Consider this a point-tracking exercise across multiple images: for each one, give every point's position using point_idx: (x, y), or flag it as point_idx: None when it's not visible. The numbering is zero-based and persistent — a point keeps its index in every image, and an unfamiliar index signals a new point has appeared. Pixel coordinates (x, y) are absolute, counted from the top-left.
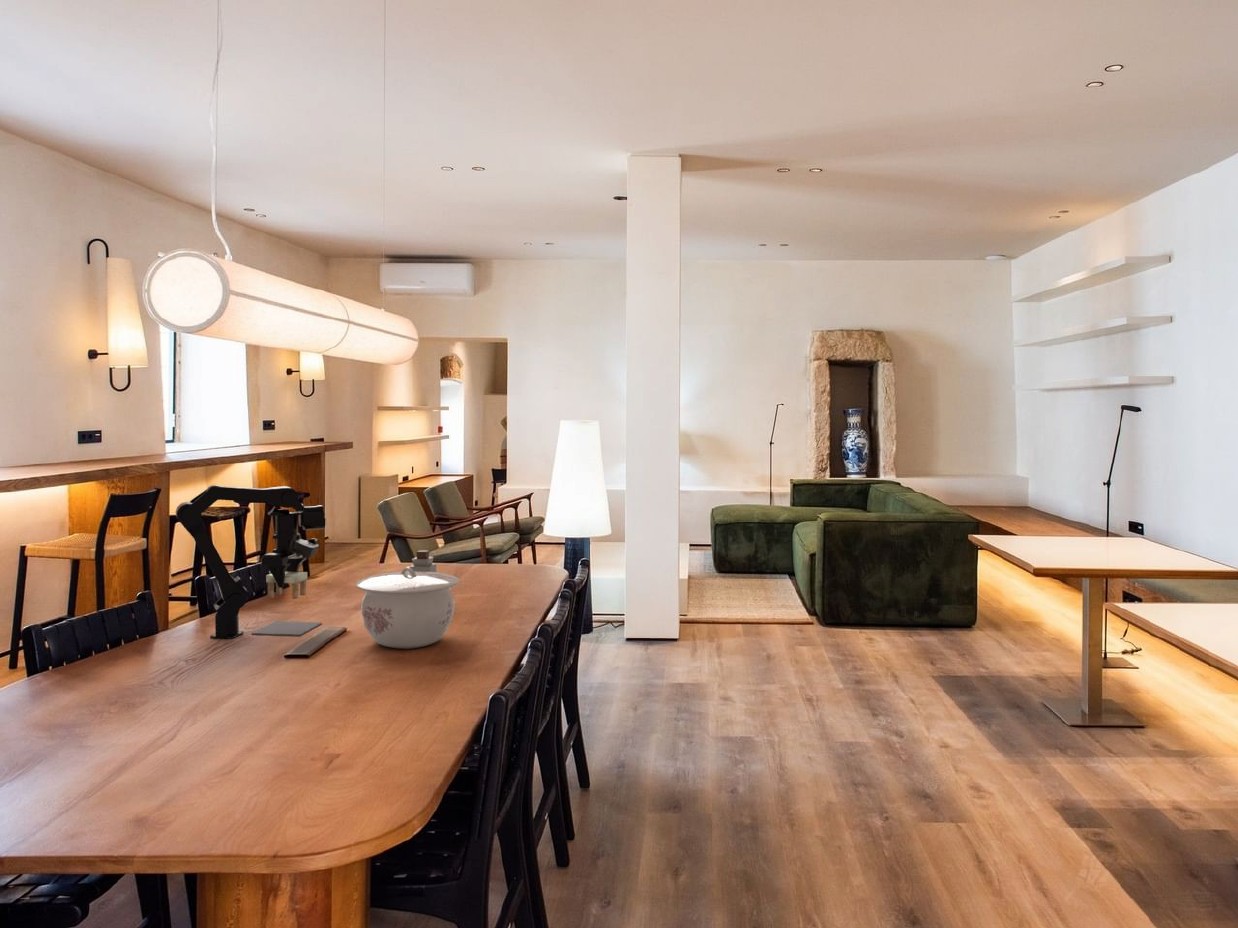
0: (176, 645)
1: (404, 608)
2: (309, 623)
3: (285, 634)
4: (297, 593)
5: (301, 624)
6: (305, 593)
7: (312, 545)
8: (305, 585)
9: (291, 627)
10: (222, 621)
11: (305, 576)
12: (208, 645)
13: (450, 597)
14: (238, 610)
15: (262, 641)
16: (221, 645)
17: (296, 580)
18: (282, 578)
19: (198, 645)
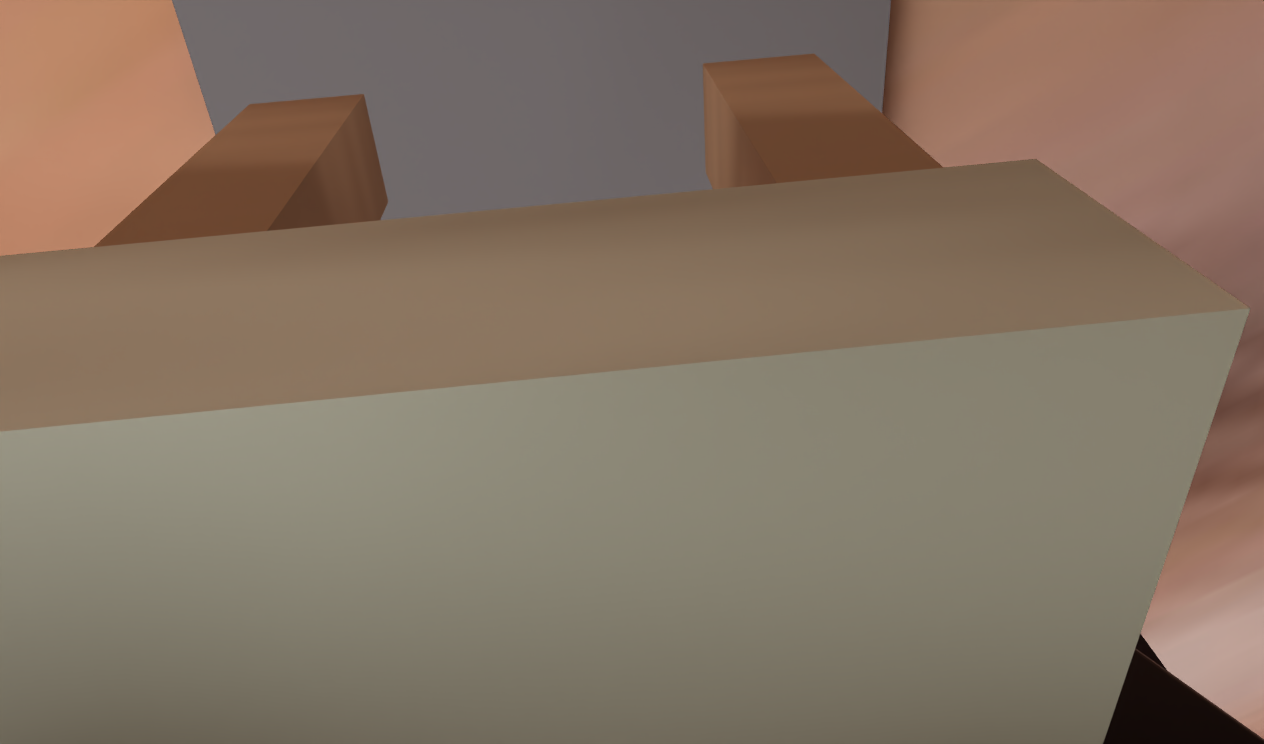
0: (1195, 681)
1: None
2: (251, 4)
3: (888, 6)
4: (781, 92)
5: (349, 89)
6: (273, 111)
7: None
8: (192, 190)
9: (539, 130)
10: None
11: (97, 314)
12: (1238, 504)
13: None
14: (1147, 644)
15: (1160, 126)
16: (1260, 413)
17: (1092, 227)
18: (1205, 713)
19: (1223, 565)
